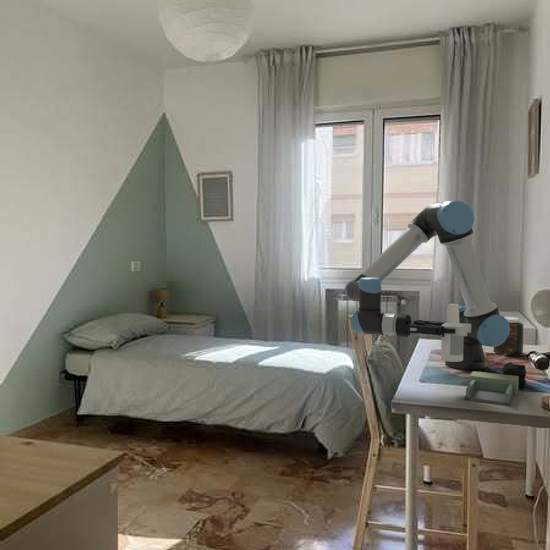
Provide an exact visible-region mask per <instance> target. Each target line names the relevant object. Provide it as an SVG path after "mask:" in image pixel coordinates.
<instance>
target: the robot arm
mask: <svg viewBox="0 0 550 550" xmlns="http://www.w3.org/2000/svg"><path fill="white" fill-rule="evenodd" d="M474 222H475V215H474V211H473V208H471V206H470V205H469V204H467V203H466V202H464V201H462V200H455V199H449V200H444V201H439V202H438V201H437V202H434V203H431V204H429V205H427V206H426V207H424V208H423V209H422V210H421V211H420V212H419V213H418V214H417V215H416V216H414V218H413V219H411V221H410V222H409V223H408V224H407V229H405V231H404V232H402V234H400V236H399V237H397V239H395V240H394V241H393V242H392V243H391V244H390V245H389V246H388V247H387V248H386V249H385V250H384V251H383V252H382V253H381V254H380V255H379V256H378V257H377V258H376V259H374V260H373V262H371V263H370V265H369V266H368V267H367V268H366V269H364V270H363V271H362V273H360V274H359V275H358V276H357V277H356V278H355V279H351V280H349V281H348V282H347V283H345V286H344V293H345V296H346V297H347V298H348V299H349V300H352V301H354V302H358V310H357V311H354V312H353V314H352V316H351V327H352V330H353V332H354V333H358V334H364V335H377V336H378V335H379V336H387V337H388V338H390V337H391V336H393V337H396V336H397V337H404V338H408V337H409V336H410V335H411V334H420V335H432V336H441V335H442V337H445V335H455V336H464V341H463V361H460V362H449V361H444V364H445V366H446V367H450V368H453V369H459V370H460V369H461V370H482V369H485V368H487V358H486V355H485V351H484V349H483V346H484V347H490V348H494V347H495V346H499V345H501V344H502V343H503V342H504V341H505V340H506V339H507V336H508V335H509V332H510V325H509V322H508V321H507V319H506V318H505V317H506V316H504V315H502V314H500V311H499V310H500V309H499V307H498V305H497V304H496V303H495V302H492V301H491V297H490V296H489V295H490V294H489V291H488V289H487V286H486V283H485V280H484V276H483V274H482V270H481V267H480V264H479V261H478V259H477V254H476V252H475V248H474V246H473V242H472V239H471V238H472V237H473V234H474V231H473V225H474ZM436 236H437V238H438V240H439V241H438V242H439V244H441V245H442V246H444V247H446V250H447V251H446V252H447V253H448V257H449V260H450V262H451V266H452V269H453V272H454V275H455V278H456V281H457V284H458V287H459V289H460V292H461V295H462V299H463V301H464V304H465V306H462V305H461V306H459V308H458V310H459V323H460V324H462V325H463V326H464V327H454V326H445V327H444V326H442V325H443V324H444V323H446V321H441V320H440V321H439V320H438V321H437V320H424V319H415V320H413V321H412V317H411V316H410V314H406V313H405V314H404V313H403V314H402V313H399V314H398V313H395V312H394V313H391V312H389V313H388V312H381V311H382V308H381V307H382V289H383V287H382V282H384V281H385V280H386V279H387V278H388V277H389V275H390V274H392V273H393V272H394V270H396V269H397V268H398V267H399V266H400V265H401V264H402V263H404V261H405V260H406V259H408V258H409V256H410V255H411V254H412V253H413V252H415V251H416V249H418V247H420V246H421V245H422V244H424V243H425V244H426V243H428V242H429V241H430V240H431V239H433V238H434V237H436Z"/></svg>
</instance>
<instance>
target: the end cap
mask: <svg viewBox="0 0 550 550" xmlns="http://www.w3.org/2000/svg"><path fill="white" fill-rule="evenodd" d="M501 374H504V375H513V376H519V383H518V388H520V389H519V390H526V386H527V385H526V383H527V382H526V381H527V380H526V376H527V368H526V365H525V364H514V363H513V362H512V361H509V362H507V363H505V364H504V365H503V366H502V371H501Z"/></svg>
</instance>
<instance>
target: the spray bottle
mask: <svg viewBox="0 0 550 550" xmlns="http://www.w3.org/2000/svg"><path fill="white" fill-rule="evenodd" d="M459 307H460V306H459V304H458V303H448V304H447V307H446V308H447V309H446V317H445V322H446V323H444V324H443V325H442V326H444V327H445V326H454V327H464V326H463V325H462V324H460V323H459V310H458V308H459ZM440 336H441V339H440V340H441V342H440V343H441V344H440V346H441V347H440V348H441V349H440V359H441V360H442V361H444V362H445V361H449V362H460V361H463V341H464V336H455V335H445V337H442V335H440Z"/></svg>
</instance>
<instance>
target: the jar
mask: <svg viewBox="0 0 550 550" xmlns="http://www.w3.org/2000/svg"><path fill="white" fill-rule="evenodd" d="M504 317H505V318H506V319H507V321H508V322H509V325H510V332H509V335H508V336H507V339H506V340H505V341H504V342H503V343H502V344H501V345H499V346H495V347H493V353H494V352H495V353H494V354H496V353H499V354H498V355H501V354H506V355H505V356H521V355H520V354H522V355H523V354H524V324H523V323H522V322H520V318H519V317H513V316H504Z"/></svg>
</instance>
